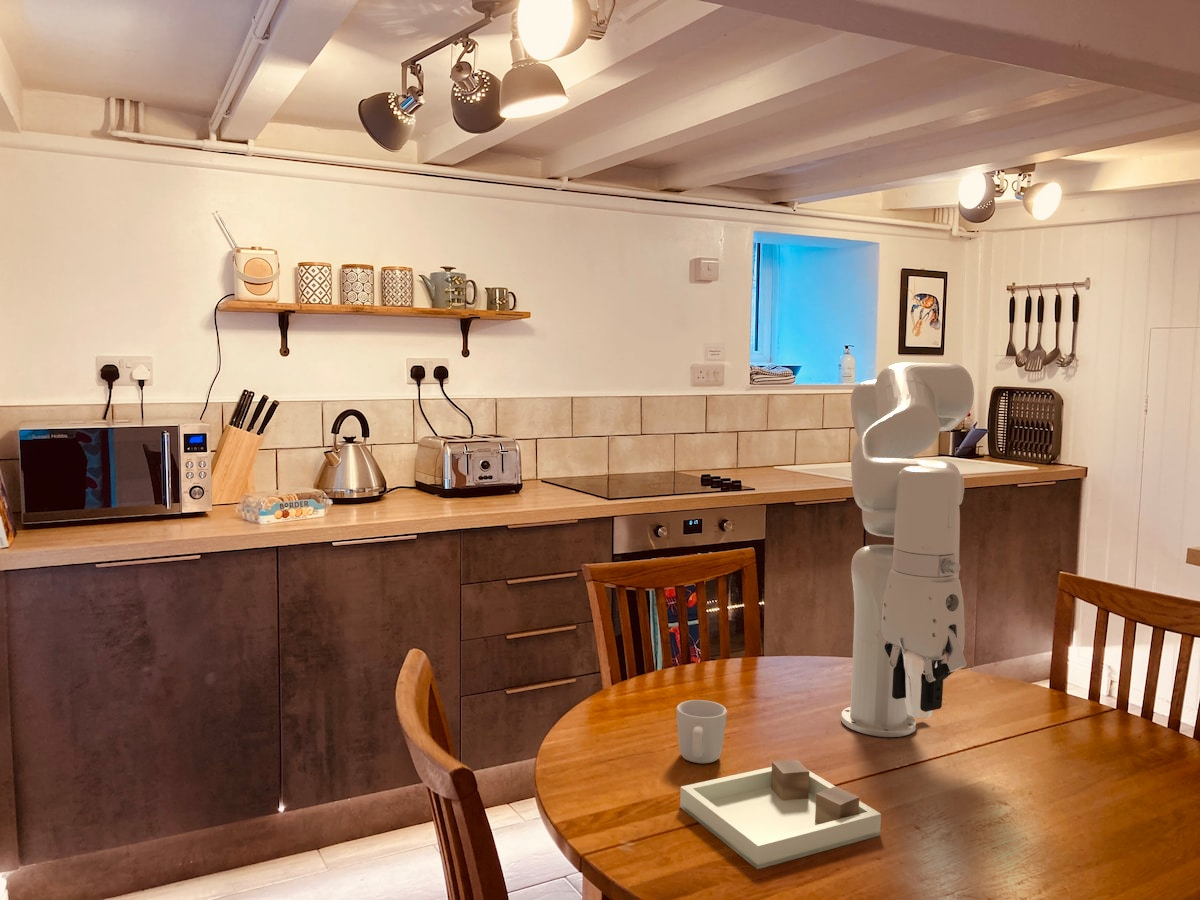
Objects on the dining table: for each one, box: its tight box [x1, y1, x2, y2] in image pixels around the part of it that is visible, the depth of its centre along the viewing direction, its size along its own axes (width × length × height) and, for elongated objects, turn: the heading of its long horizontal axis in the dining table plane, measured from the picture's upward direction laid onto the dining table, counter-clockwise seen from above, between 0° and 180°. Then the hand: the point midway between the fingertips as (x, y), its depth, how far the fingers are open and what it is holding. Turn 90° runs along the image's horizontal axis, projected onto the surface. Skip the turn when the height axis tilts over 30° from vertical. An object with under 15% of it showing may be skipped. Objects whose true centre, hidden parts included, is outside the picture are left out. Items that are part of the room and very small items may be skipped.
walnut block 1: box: [771, 759, 810, 801], centre depth 135 cm, size 4×4×4 cm
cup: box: [675, 699, 728, 764], centre depth 147 cm, size 11×8×8 cm
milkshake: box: [898, 639, 937, 719], centre depth 121 cm, size 4×5×10 cm
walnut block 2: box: [815, 785, 860, 824], centre depth 126 cm, size 4×4×4 cm
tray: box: [679, 766, 882, 870], centre depth 128 cm, size 20×18×3 cm
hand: (916, 701), depth 121 cm, fingers closed on milkshake, 4 cm apart
